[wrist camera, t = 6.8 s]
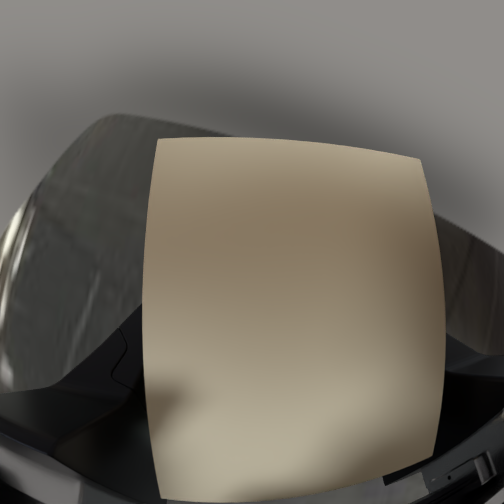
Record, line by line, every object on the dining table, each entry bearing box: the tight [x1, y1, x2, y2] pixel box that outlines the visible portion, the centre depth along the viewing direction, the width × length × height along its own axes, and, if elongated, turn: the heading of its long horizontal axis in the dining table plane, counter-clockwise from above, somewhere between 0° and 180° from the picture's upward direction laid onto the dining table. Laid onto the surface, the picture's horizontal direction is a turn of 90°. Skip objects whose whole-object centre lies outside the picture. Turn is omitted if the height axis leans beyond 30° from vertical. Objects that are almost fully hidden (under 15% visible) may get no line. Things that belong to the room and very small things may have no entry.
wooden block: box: [142, 137, 446, 502], centre depth 10 cm, size 6×5×12 cm
